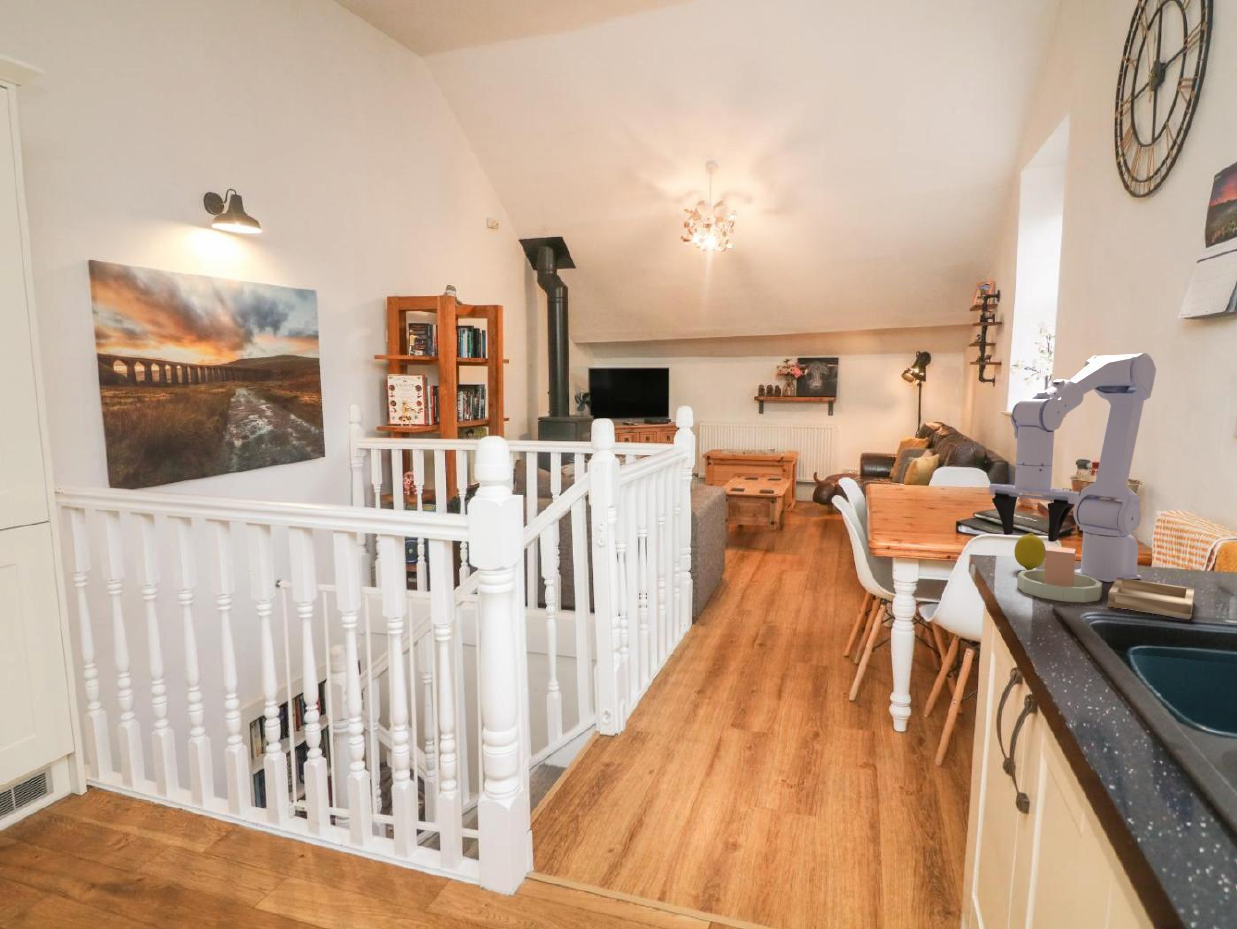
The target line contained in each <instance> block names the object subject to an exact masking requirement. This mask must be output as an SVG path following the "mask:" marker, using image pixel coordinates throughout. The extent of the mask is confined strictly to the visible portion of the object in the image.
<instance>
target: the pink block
mask: <svg viewBox="0 0 1237 929" xmlns="http://www.w3.org/2000/svg"><path fill="white" fill-rule="evenodd" d="M1045 549H1046V554H1045V560H1044V570H1045V571H1044V583H1045V584H1051V585H1058V586H1066V587H1073V585H1074V570H1076V568H1075V567H1076V554H1077V553H1076V552H1077V549H1076V548H1072V547H1071V548H1069V547H1061V546H1052V545H1047V546H1046V548H1045Z"/></svg>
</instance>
